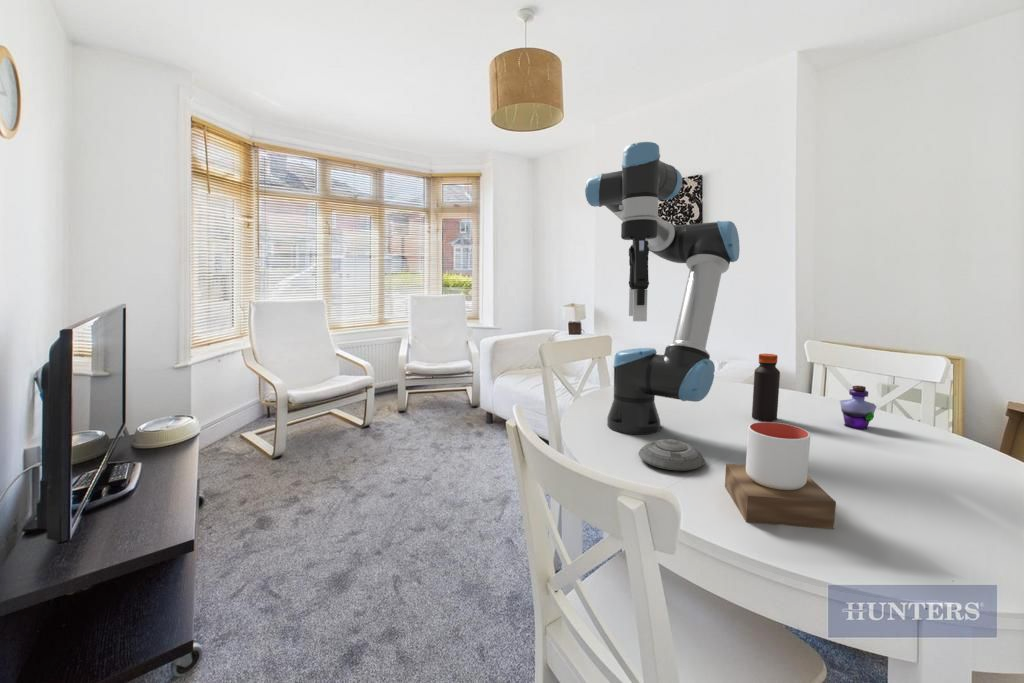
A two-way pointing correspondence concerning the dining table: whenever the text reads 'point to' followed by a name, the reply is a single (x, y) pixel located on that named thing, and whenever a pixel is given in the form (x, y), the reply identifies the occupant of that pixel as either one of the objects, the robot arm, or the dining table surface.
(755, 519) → the walnut block
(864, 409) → the potion bottle
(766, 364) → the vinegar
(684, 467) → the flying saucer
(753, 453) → the cup
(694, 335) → the robot arm
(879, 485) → the dining table surface
